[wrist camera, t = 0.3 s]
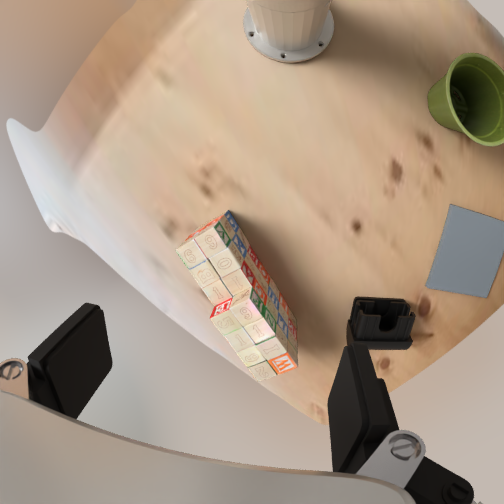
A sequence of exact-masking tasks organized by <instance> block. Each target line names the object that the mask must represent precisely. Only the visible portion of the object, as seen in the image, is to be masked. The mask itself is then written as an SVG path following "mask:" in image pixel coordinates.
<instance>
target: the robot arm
mask: <svg viewBox="0 0 504 504" xmlns="http://www.w3.org/2000/svg"><path fill="white" fill-rule="evenodd" d="M331 1H332V0H246V3H247V6H248V7H247V9H246V11H245V14H244V19H243V26H244V32H245V34H246V37H247V39H248V41H249V42H250V44H251V45H252V46H253V47H254V48H255V49H256V50H257V51H258V52H259V53H261V54H262V55H264V56H266V57H268V58H270V59H273V60H276V61H280V62H289V63H295V62H302V61H305V60H309V59H311V58H313V57H315V56H317V55H319V54H320V53H321V52H322V51H324V49H325V48H326V47H327V46H328V45H329V43H330V41H331V39H332V36H333V33H334V19H333V16H332V13H331V11H330V10H329V8H330V4H331ZM251 35H254V36H253V37H251ZM319 44H321V45H322V47H320V46H319ZM282 56H285V58H282ZM28 360H29V362H28V363H27V364H26V363H25V362H24V361H23V360H21V359H18V358H11V359H7V360H5V361H3V362H1V363H0V504H477V503H476V502H475V501H474V500H473V498H474V491H473V488H472V486H471V485H470V483H469V482H468V481H466V480H465V479H463V478H462V477H460V476H458V475H456V474H454V473H453V472H451V471H449V470H447V469H446V468H444V467H442V466H440V465H439V464H437V463H435V462H433V461H432V460H430V459H428V458H427V457H425V456H424V455H425V451H426V450H425V444H424V442H423V441H422V439H421V438H420V437H419V436H418V435H416V434H415V433H413V432H410V431H406V430H399V427H398V424H397V420H396V417H395V413H394V410H393V407H392V404H391V400H390V397H389V394H388V391H387V387H386V384H385V382H384V380H383V379H382V378H377V376H376V372H375V369H374V366H373V363H372V360H371V356H370V353H369V350H368V347H367V345H366V344H365V343H350V345H349V346H345V347H344V350H343V353H342V357H341V360H340V363H339V367H338V370H337V373H336V376H335V379H334V383H333V386H332V389H331V392H330V395H329V398H328V415H329V427H330V438H331V451H332V465H333V472H326V471H312V470H295V469H285V468H275V467H265V466H257V465H249V464H241V463H235V462H229V461H222V460H217V459H211V458H206V457H201V456H196V455H192V454H187V453H183V452H178V451H174V450H170V449H166V448H162V447H158V446H154V445H151V444H147V443H144V442H140V441H137V440H133V439H130V438H127V437H124V436H121V435H118V434H115V433H111V432H109V431H106V430H103V429H100V428H97V427H95V426H92V425H89V424H86V423H84V422H81V421H79V420H76V419H77V418H78V416H79V415H80V413H81V412H82V410H83V409H84V407H85V406H86V404H87V403H88V401H89V400H90V399H91V397H92V396H93V394H94V393H95V391H96V390H97V389H98V387H99V386H100V384H101V383H102V381H103V380H104V379H105V377H106V376H107V374H108V373H109V371H110V370H111V368H112V357H111V352H110V347H109V342H108V336H107V330H106V324H105V318H104V312H103V310H101V309H100V307H99V306H98V305H94V304H90V303H85V304H83V305H82V306H81V307H80V308H79V309H78V310H77V311H76V312H75V313H73V314H72V315H71V316H70V317H69V318H68V319H67V320H66V321H65V322H64V323H63V324H61V325H60V326H59V327H58V328H57V329H56V330H55V331H54V332H53V333H52V334H51V335H50V336H49V337H48V338H47V339H45V341H43V342H42V343H41V344H40V345H39V346H38V347H37V348H36V349H35V350H34V351H33V352H32V353H31V354H30V355H29V356H28ZM478 504H482V503H481V502H479V503H478Z"/></svg>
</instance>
